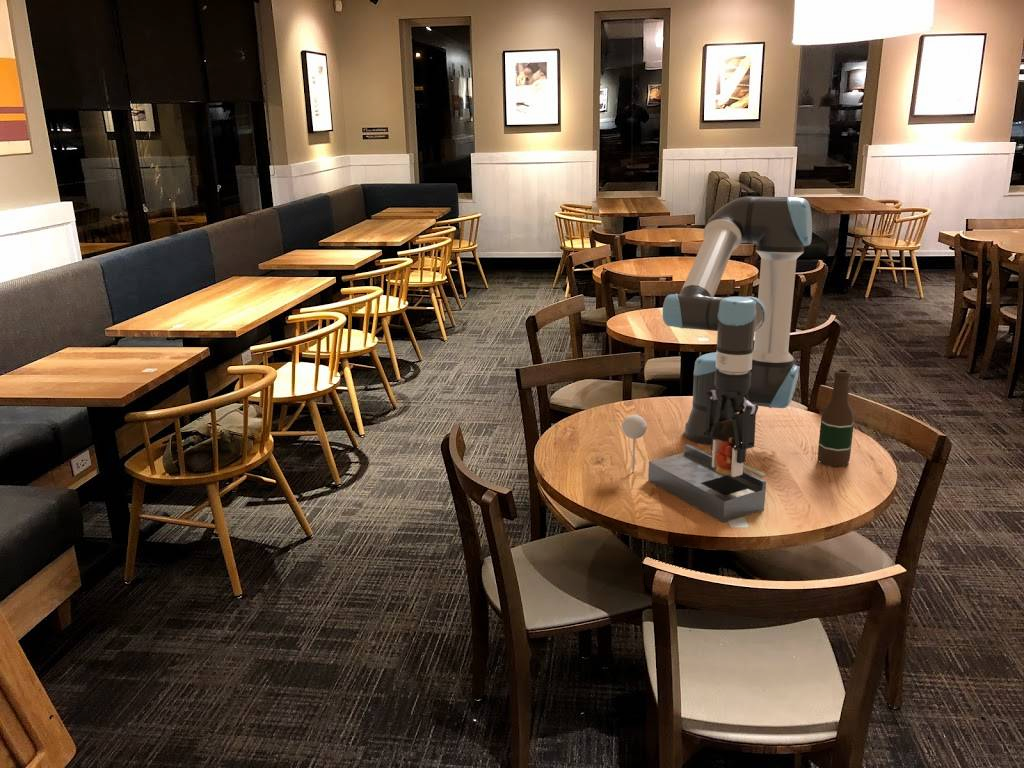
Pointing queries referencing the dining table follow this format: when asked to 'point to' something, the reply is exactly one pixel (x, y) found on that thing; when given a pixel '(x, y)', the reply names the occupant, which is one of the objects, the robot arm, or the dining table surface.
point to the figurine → (724, 445)
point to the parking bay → (753, 470)
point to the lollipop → (634, 430)
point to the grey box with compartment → (708, 485)
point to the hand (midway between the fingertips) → (726, 470)
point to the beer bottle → (837, 425)
